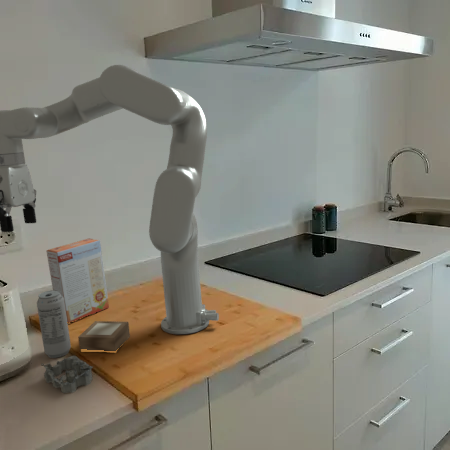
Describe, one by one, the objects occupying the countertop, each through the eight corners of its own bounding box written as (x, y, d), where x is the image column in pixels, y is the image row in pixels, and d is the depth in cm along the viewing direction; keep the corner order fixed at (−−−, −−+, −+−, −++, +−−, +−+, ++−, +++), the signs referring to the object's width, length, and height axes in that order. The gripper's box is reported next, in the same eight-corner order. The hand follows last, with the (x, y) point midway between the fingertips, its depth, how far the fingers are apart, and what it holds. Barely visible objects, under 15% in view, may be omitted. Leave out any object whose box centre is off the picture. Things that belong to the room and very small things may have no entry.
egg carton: (41, 380, 103) (38, 363, 102) (73, 366, 108) (71, 349, 107) (64, 398, 95) (61, 379, 94) (97, 382, 100) (95, 364, 99)
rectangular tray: (130, 336, 120) (128, 321, 120) (115, 353, 112) (113, 337, 111) (97, 335, 122) (95, 320, 121) (80, 352, 114) (78, 336, 113)
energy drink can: (74, 346, 117) (66, 288, 114) (66, 358, 111) (57, 297, 108) (50, 347, 117) (41, 290, 114) (40, 359, 111) (31, 299, 108)
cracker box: (97, 304, 144) (88, 237, 140) (109, 308, 140) (101, 239, 136) (56, 320, 134) (45, 248, 129) (68, 325, 130) (57, 251, 126)
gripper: (-1, 163, 111) (11, 235, 114) (41, 157, 127) (51, 219, 131) (-29, 165, 112) (-16, 235, 116) (17, 158, 129) (26, 220, 132)
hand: (19, 227), depth 123 cm, fingers open, 9 cm apart
